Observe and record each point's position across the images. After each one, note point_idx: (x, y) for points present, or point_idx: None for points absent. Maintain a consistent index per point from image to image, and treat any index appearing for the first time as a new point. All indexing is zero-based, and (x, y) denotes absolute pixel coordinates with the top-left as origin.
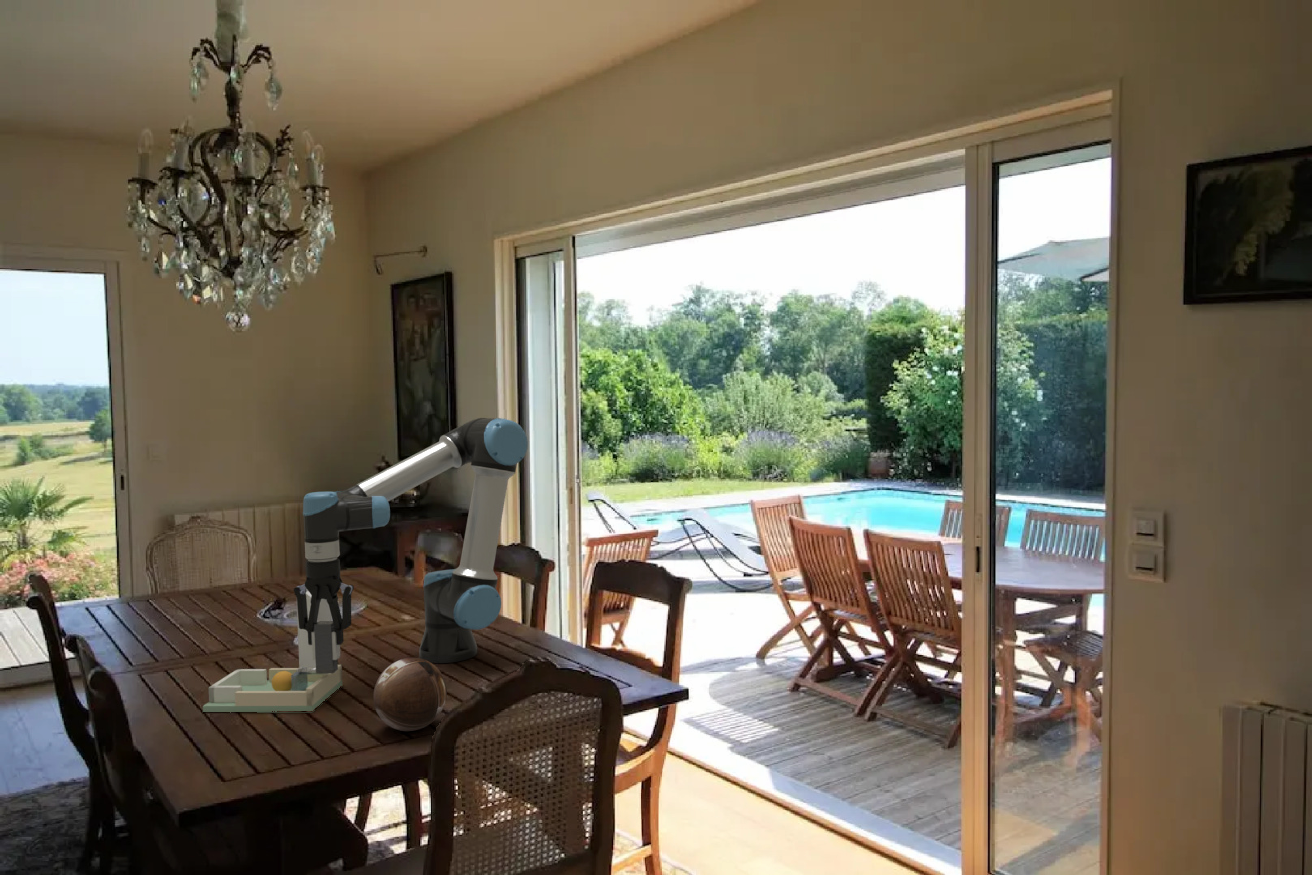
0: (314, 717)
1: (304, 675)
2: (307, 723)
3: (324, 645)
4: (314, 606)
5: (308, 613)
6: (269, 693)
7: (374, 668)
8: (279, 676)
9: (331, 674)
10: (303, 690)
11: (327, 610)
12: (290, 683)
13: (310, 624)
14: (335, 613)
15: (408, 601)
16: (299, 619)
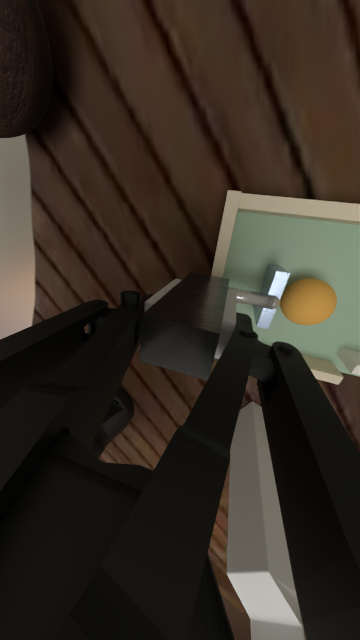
0: (220, 163)
1: (259, 308)
2: (229, 118)
3: (194, 292)
4: (201, 413)
5: (277, 523)
6: (342, 203)
7: (175, 387)
8: (320, 292)
9: None
10: None
11: (235, 519)
12: (288, 288)
13: (240, 343)
14: (92, 339)
15: None
16: (307, 375)
